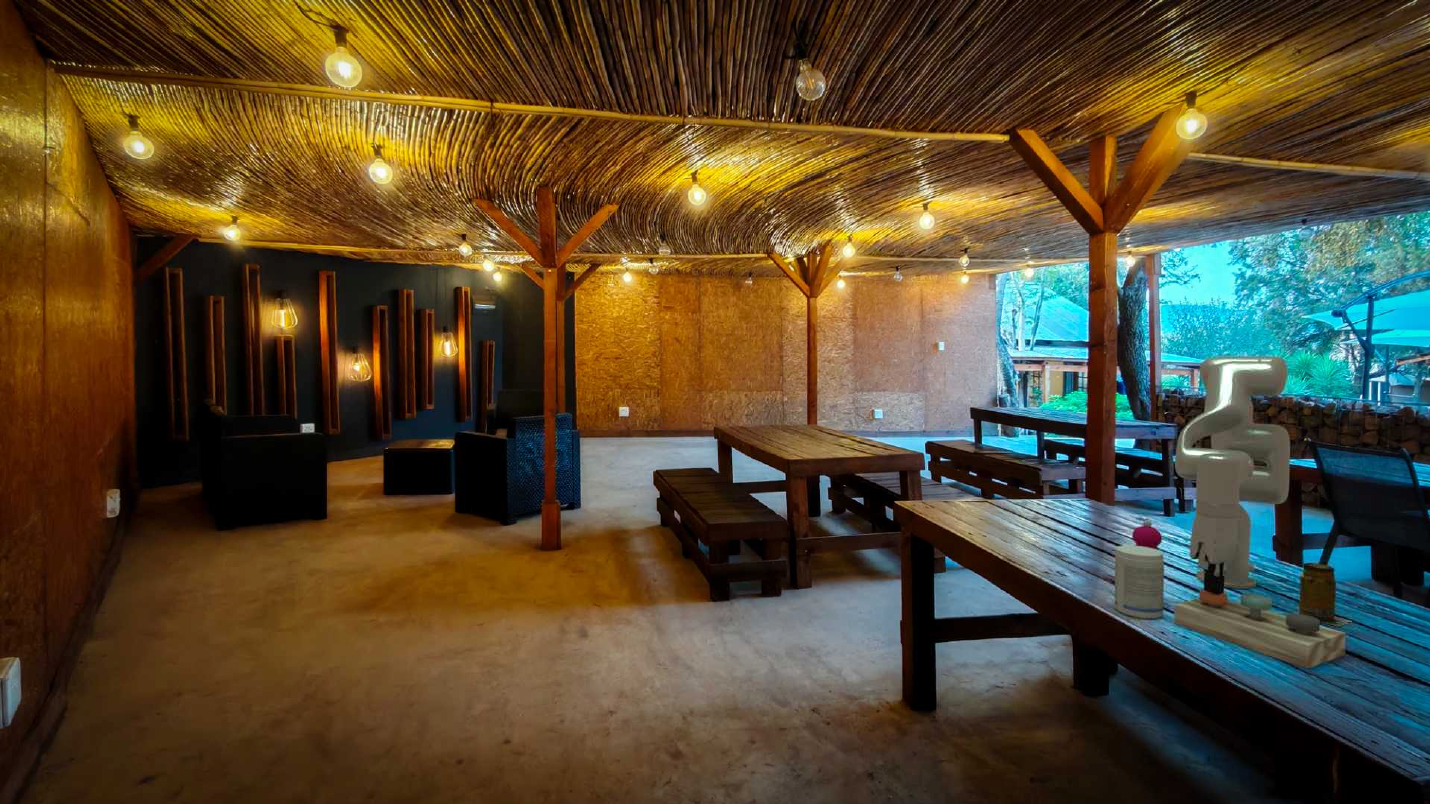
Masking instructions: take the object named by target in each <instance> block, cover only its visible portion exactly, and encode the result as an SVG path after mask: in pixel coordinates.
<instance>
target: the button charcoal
mask: <svg viewBox="0 0 1430 804" xmlns="http://www.w3.org/2000/svg"><path fill="white" fill-rule="evenodd" d="M1285 616H1286V625H1287V626H1289V627H1291V628H1294V629H1296V632H1297V633H1300V634H1304V635H1307V636H1308V632H1318V631H1319V630H1320V626H1321V624H1320V623H1321V622H1320V620H1318V619H1317V618H1314V617H1311V616H1308V615H1303V614H1296V613H1295V612H1290V613H1286V615H1285Z"/></svg>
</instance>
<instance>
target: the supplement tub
mask: <svg viewBox="0 0 1430 804" xmlns="http://www.w3.org/2000/svg"><path fill="white" fill-rule="evenodd" d="M1114 557H1115V558H1114V561H1115V562H1114V570H1115V572H1114V606H1115V609H1116V610H1117V611H1118V612H1120V613H1121V614H1124V615H1127V616H1130V617H1133V618H1139V619H1157V618H1160V617H1161V616H1162V615H1163V614H1164V588H1165V586H1164V584H1165V583H1164V582H1165V581H1164V580H1165V571H1164V570H1165V561H1164V553H1163V552H1162V551H1161V550H1160V549H1159V550H1156V549H1153V548H1148V547H1142V546H1135V545H1119V546H1117V547H1116V548H1115V556H1114Z"/></svg>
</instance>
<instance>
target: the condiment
mask: <svg viewBox="0 0 1430 804" xmlns="http://www.w3.org/2000/svg"><path fill="white" fill-rule="evenodd" d="M1302 566H1303V569H1302V572H1303V573H1302V574H1301V575H1300V578H1299V579H1300V581H1299V583H1300V584H1299V585H1300V586H1299V587H1300V588H1299V600H1298V603H1299V605H1298V607H1299V608H1298V610H1299V611H1296V612H1294V613H1296V614H1303V615H1308V616H1311V617H1314V618H1317V619H1318V620H1320V623H1323V624H1326V625H1332V626H1335V627H1341V625H1342V626H1344V625H1347V624H1348V623H1347V622H1350V623H1353V620H1349V619H1345V618H1343V617H1337V616H1336V598H1337V597H1336V595H1337V580H1336V579H1335V577H1336V575H1335V572H1336V571H1335V568H1334V567H1333V566H1331V565H1327V564H1324V563H1319V562H1304V564H1303V565H1302ZM1335 619H1339V620H1335ZM1327 622H1328V623H1327ZM1336 622H1337V623H1336ZM1338 622H1343V624H1342V623H1338ZM1345 622H1346V623H1345Z"/></svg>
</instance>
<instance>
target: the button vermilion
mask: <svg viewBox="0 0 1430 804" xmlns="http://www.w3.org/2000/svg"><path fill="white" fill-rule="evenodd" d="M1198 595H1199V597H1198V598H1199V599H1200V600H1201V601H1203V602H1205V603H1208V606H1209V607H1213V608H1216V609H1217V608H1218V605H1227V604H1228V600H1229V596H1228V594H1227V593H1225V592H1224V593H1222V594H1215V593H1212V592H1208V591H1205V590H1204V588H1202V589H1200V590H1199V594H1198Z"/></svg>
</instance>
